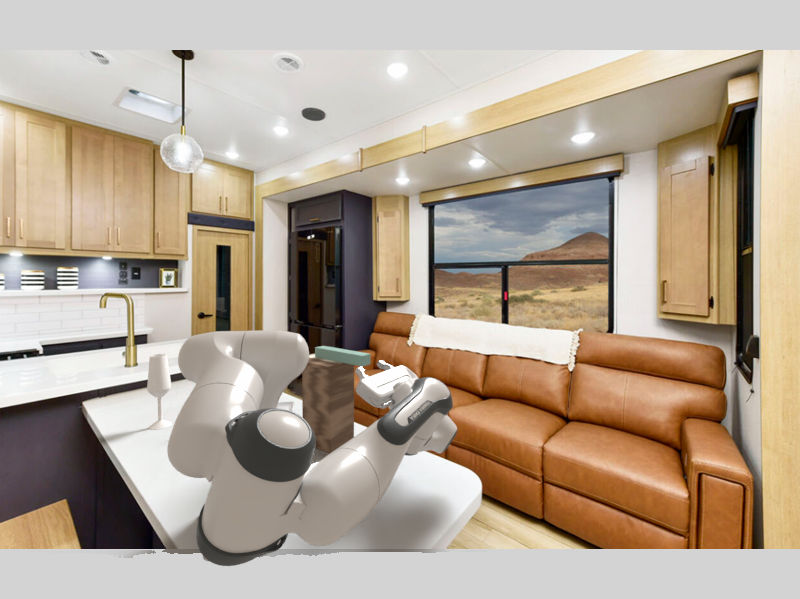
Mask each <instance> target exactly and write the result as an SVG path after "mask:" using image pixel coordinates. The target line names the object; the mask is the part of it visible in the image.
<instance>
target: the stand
mask: <svg viewBox="0 0 800 599" xmlns="http://www.w3.org/2000/svg"><path fill="white" fill-rule="evenodd" d="M301 374H302V377H301V378H302V379H301V380H302V385H301V386H302V387H301V389H302V391H301V392H302V393H301V394H302V396H301V397H302V399H301V400H302V409H301V410H302V418H304V419H305V420H306V421H307V423H308V424H309V425H310V427H311V428H312V430H313V431H314V433H315V436H316V446H315V449H318V450H320V451H323V452H325V453H328V454H330V453H331V452H333V451H334V450H336V449H337V448H339V447H340V446H342V445H343V444H345V443H346V442H348V441H349V440H351V439H352V438H354V437H355V365H352V364H347V363H342V362H337V361H332V360H327V359H322V358H317V357H315V353H309V360H308V363H307V366H306V368H305V369H304V371H303V372H302V373H301Z"/></svg>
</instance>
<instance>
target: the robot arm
mask: <svg viewBox="0 0 800 599" xmlns="http://www.w3.org/2000/svg"><path fill="white" fill-rule="evenodd" d="M309 355H310V351H309V346H308V342H306V339H305V338H304V337H303V335H302V334H300V333H296V332H291V331H286V330H279V329H278V330H277V329H273V330H271V329H269V330H268V329H267V330H220V331H218V330H216V331H210V332H204V333H199V334H195V335H191V336H189V337H188V338H187V340H185V341H184V342H183V344H182V346H181V347H180V350H179V352H178V356H177V363H178V368H179V371H180V373H181V374H182V376H183V377H184V378H185V380H187V381H188V382H191V383H194V385H195V386H194V387H193V389H192V390H191V392H190V394H189V395H188V397H187V398H186V400H185V401H184V403H183V405H182V407H181V409H180V411H179V413H178V415H177V417H176V419H175V421H174V425H173V426H172V430H171V432H170V436H169V439H168V444H167V447H166V448H167V456H168V457H167V458H168V460H169V463H170V464H171V465H172V467H173V468H174V470H176V471H177V472H179V473H180V474H181V475H183V476H186V477H189V478H194V479H206V480H207V481H208V483H210V484H211V485H210V488H209V490H208V494H207V496H206V499H205V501H204V502H205V503H204V504H203V505H202V508H201V509H200V512H199V515H198V520H197V525H196V545H197V548H198V550H199V552H200V554H201V555H202V559H203V560H204V561H205V562H210V563H212V564H213V565H217V566H221V567H232V566H238V565H243V564H246V563H248V562H251V561H253V560H254V559H256V558H258V557H260V556H261V555H263V554H268V553H275V552H277V551H278V550H280V549H281V548H282V547H283V545H284V544H285V542H286V541H287V538H288V535H289V534H295V535H297V536H298V537H299V538H300V539H302V541H304V542H305V543H307V544H310V545H312V546H316V547H325V546H329V545H331V544H333V543H335V542H336V541H338V540H340V539H342V538H343V537H344V536H346V535H347V534H348V533H351V531H352V530H354V529H355V528H356V527H357V526H358V525H360V524H361V522H363V520H365V519H366V518H367V517H368V516H369V515H370V513H372V511H374V509H375V508H376V507H377V506H378V505H379V503H380V501H381V500H382V499H383V497H384V496H385V494H386V492H387V490H388V489H389V487H390V486H391V483H392V481H393V479H394V477H395V475H396V473H397V471H398V470H399V467H400V465H401V463H402V461H403V459H404V456H410V457H411V456H416V455H418V453H421V452H426V451H427V452H428V451H433V452H435V453H437V454H442V453H444V452H446V450H447V449H448V448H449V447H450V445H451V443H452V442H453V440H454V439H455V437H456V436H457V433H458V427H457V425H456V423H455V422H454V421H453V420H452V418H451V417H449V415H448V414H449V413H450V412H451V410H452V409H453V408H454V403H453V396H452V393H451V390H450V389H449V387H448V386H447V385H446V384H445V383H444V382H443V381H441V380H440V379H439V378H436V377H431V376H426V377H418V375H417V374H416V373H415V372H414V371H412V370H411V369H410V368H409V367H407V366H405V365H402V364H400V365H398V366H393V365H391V364H389V363H386V362H385V360H383V359H382V360H378V361H377V363H376V366H377V367H378V368H379V369H381V370H382V369H383V371H381V372H378V373H376V374H372V375H370V376H369V375H368V374H365V370H366V369H364V368H363V367H362V366H357V367H355V368H356V369H354V374H356V375H357V376H358V379H359V381H358V383H357V385H356V387H355V392H356V394H357V395H358V396H359V397H360V398H361V399H362V400H364V401H365V402H366V403H368V404H369V405H370V406H373V407H375V408H379V409H382V410H383V409H387V407H388V409H389V411H388V412H386V413H385V414H384V415H383V416H382V417H380V418H379V419H377V420H375V421H374V422H373V423H371V424H370V425H369V426H368V427H366V428H365V429H364V430H362V431H361V432H359V433H358V434H357V435H354V438H352V439H351V440H349V441H348V442H346V443H345V444H343V445H342V446H340V447H339V448H337V449H336V450H334V451H333V452H331V453H328V454H326V456H324V457H323V458H322V459H321V460H319V461H316V462H314V463H313V460H314V455H315V452H316V451H315V450H316V448H315V446H316V436H315V433H314V431H313V430H312V428H311V427H310V425H309V424H308V423H307V421H306V420H305V419H304V418H303V416H301V415H300V414H298V413H296V412H294V411H293V412H292V411H289V410H286V409H279V408H277V404H278V402H280V401H279V400H280V398H281V396H282V395H283V392H284V391H285V390H286V388H287V387H288V386H289V385H290V384H291V383H292V382H293V381H294V380H296V379H297V378H298V377H299V376H301V374H302V372H303V371H304V369H305V368H306V366H307V363H308V360H309Z"/></svg>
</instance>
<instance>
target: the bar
mask: <svg viewBox="0 0 800 599" xmlns="http://www.w3.org/2000/svg"><path fill="white" fill-rule="evenodd" d="M314 349H315V350H314V354H315V357H317V358H322V359H327V360H332V361H337V362H342V363H347V364H352V365H354V366H357V367H362V368H363V367H366V366H368V365H371V354H372V353H368V352H362V351H357V350H350V349H344V348H339V347H335V346H329V345H328V346H327V345H321V346H316V347H314Z"/></svg>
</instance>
